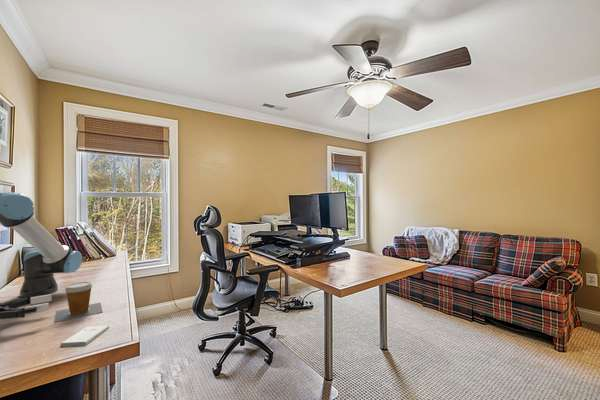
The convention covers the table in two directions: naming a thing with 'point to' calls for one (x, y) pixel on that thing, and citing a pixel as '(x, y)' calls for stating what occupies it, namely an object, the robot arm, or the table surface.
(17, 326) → the table surface
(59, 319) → the tile
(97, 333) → the external hard drive
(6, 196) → the robot arm
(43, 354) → the table surface
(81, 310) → the disposable coffee cup
